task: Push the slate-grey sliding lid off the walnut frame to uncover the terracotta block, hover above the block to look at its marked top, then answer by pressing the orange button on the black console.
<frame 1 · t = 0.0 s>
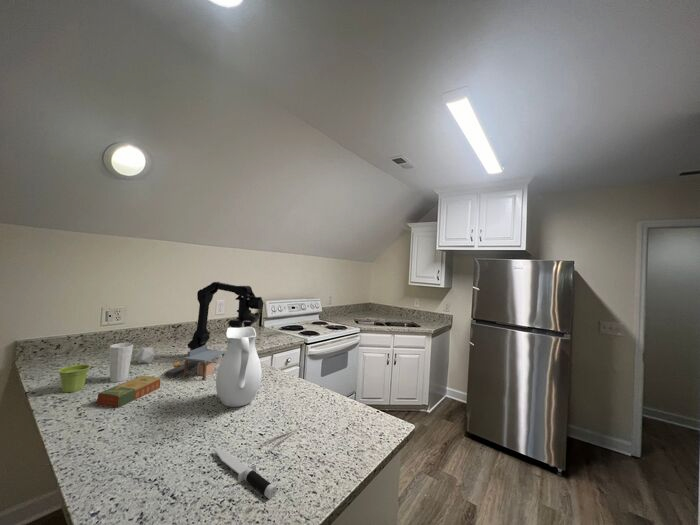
hand: (242, 335, 155), 15 cm above the counter, tool pointing down, fingers open, 9 cm apart
white button: (189, 359, 143), point 4 cm above the counter, slide at 0.0 cm
lid: (206, 352, 137), point 10 cm above the counter, slide at 0.0 cm
carton: (130, 397, 110), on the counter
tweezers: (285, 439, 87), on the counter
die: (144, 363, 148), on the counter
console: (183, 370, 139), on the counter
frame: (205, 373, 136), on the counter
pitcher: (238, 405, 107), on the counter
cup: (119, 380, 124), on the counter
plant pot: (72, 390, 113), on the counter
orange button: (177, 364, 135), point 4 cm above the counter, slide at 0.0 cm
knife: (239, 473, 71), on the counter
block: (205, 373, 136), on the counter
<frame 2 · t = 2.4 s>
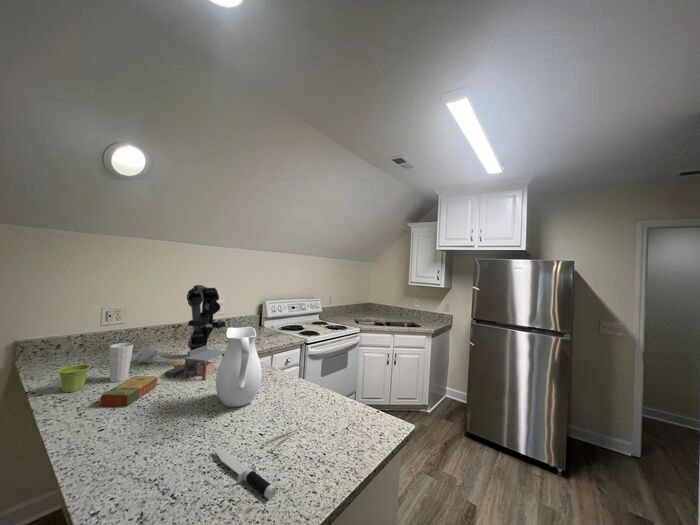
hand: (205, 339, 150), 13 cm above the counter, tool pointing down, fingers closed
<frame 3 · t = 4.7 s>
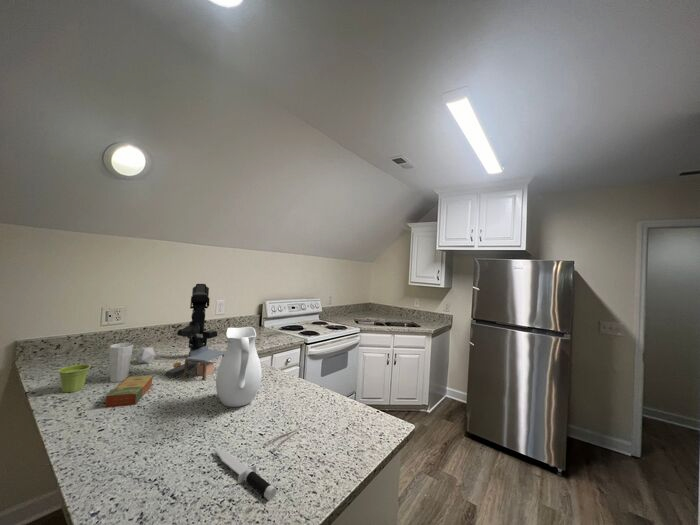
hand: (196, 350, 138), 11 cm above the counter, tool pointing down, fingers closed
lid: (207, 352, 137), point 10 cm above the counter, slide at 0.7 cm, touching gripper
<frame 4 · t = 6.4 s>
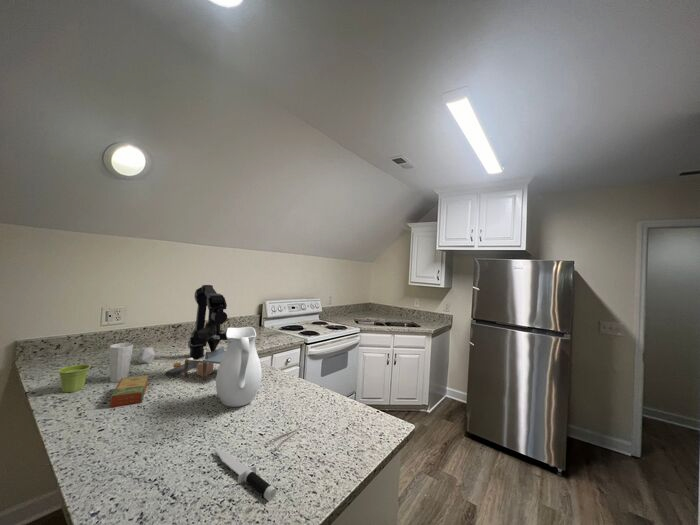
hand: (212, 352, 136), 11 cm above the counter, tool pointing down, fingers closed
lid: (224, 354, 135), point 10 cm above the counter, slide at 9.9 cm, touching gripper
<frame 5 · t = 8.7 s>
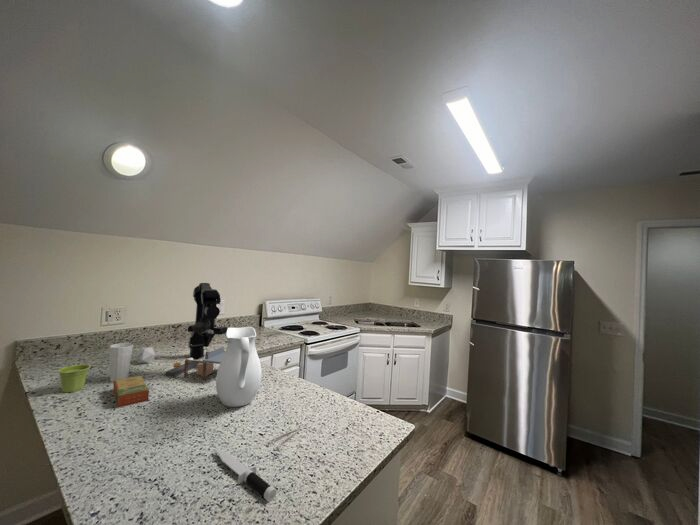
hand: (206, 346, 137), 13 cm above the counter, tool pointing down, fingers closed
lid: (224, 354, 135), point 10 cm above the counter, slide at 9.9 cm
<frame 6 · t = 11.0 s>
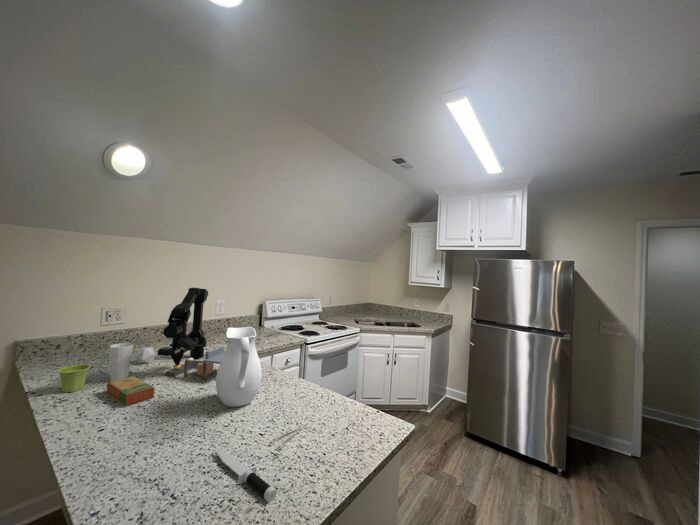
hand: (177, 365, 135), 4 cm above the counter, tool pointing down, fingers closed, pressing on orange button
orange button: (177, 366, 135), point 3 cm above the counter, slide at 0.9 cm, touching gripper
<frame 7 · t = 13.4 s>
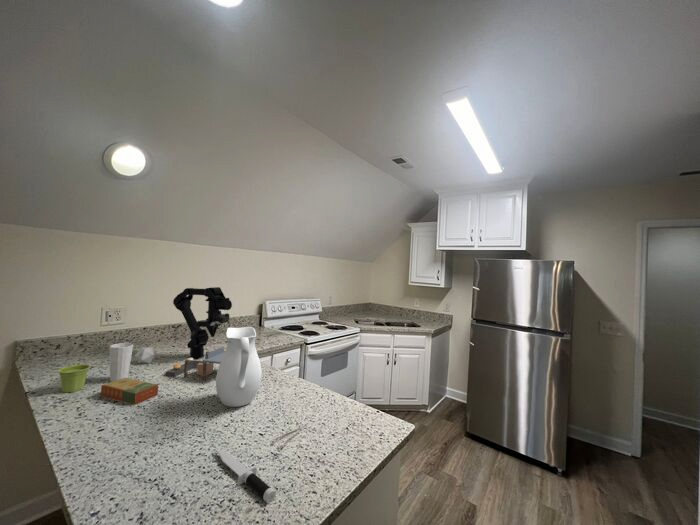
hand: (212, 336, 157), 13 cm above the counter, tool pointing down, fingers closed
orange button: (177, 366, 135), point 3 cm above the counter, slide at 1.0 cm
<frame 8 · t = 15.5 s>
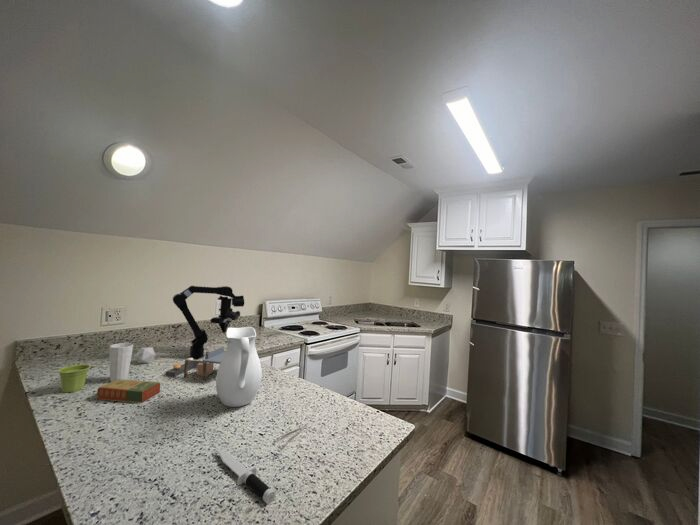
hand: (224, 332, 168), 13 cm above the counter, tool pointing down, fingers closed
at the end: lid slide at 9.9 cm; orange button slide at 1.0 cm; white button slide at 0.0 cm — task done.
